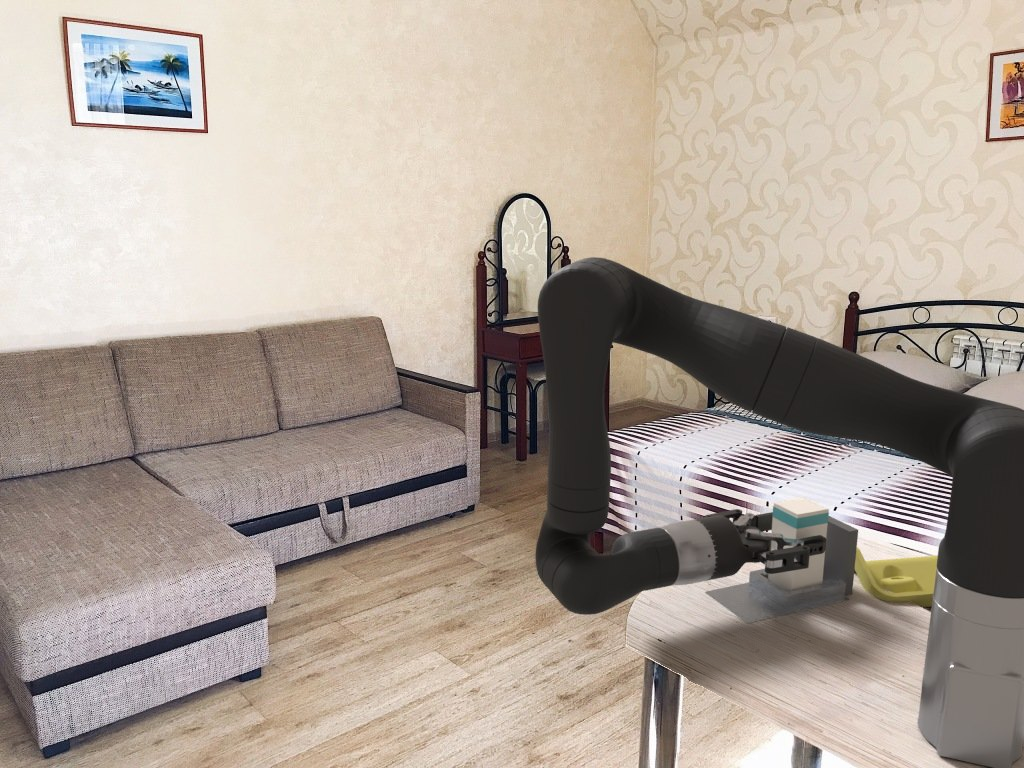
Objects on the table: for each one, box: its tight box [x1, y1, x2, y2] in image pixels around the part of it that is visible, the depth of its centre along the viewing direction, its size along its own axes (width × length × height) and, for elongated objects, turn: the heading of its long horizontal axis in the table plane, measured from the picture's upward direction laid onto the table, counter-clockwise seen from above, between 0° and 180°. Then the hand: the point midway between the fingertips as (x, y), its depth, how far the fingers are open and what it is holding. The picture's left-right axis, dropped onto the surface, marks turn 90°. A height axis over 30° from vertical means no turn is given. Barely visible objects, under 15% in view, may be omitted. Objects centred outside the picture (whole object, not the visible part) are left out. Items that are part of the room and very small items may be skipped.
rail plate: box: [704, 568, 850, 624], centre depth 110 cm, size 16×9×4 cm, turn 113°
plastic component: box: [854, 546, 938, 608], centre depth 115 cm, size 20×7×10 cm
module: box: [768, 497, 830, 591], centre depth 110 cm, size 5×5×12 cm
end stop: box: [822, 515, 859, 597], centre depth 113 cm, size 2×7×10 cm, turn 22°
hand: (800, 531), depth 110 cm, fingers open, 8 cm apart
